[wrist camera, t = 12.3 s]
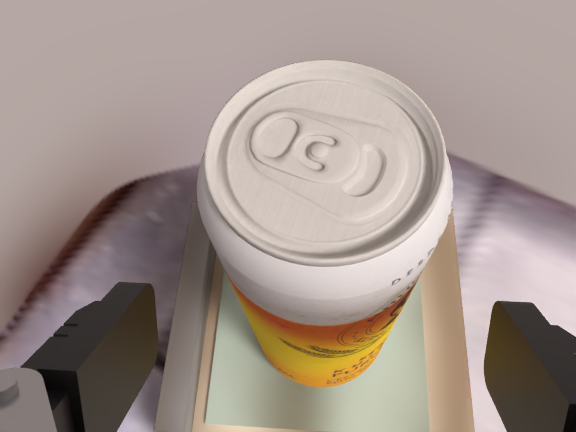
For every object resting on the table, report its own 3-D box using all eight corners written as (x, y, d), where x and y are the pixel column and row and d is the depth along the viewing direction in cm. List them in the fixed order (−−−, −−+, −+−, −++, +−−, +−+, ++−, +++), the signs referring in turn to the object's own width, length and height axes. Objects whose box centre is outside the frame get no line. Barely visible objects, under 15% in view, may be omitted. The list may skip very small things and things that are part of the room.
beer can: (354, 413, 22) (408, 334, 9) (236, 354, 24) (131, 211, 10) (401, 295, 25) (500, 92, 11) (291, 248, 26) (263, 19, 13)
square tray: (436, 234, 31) (460, 187, 25) (455, 478, 25) (492, 480, 19) (212, 226, 32) (192, 179, 26) (179, 458, 26) (144, 456, 21)
